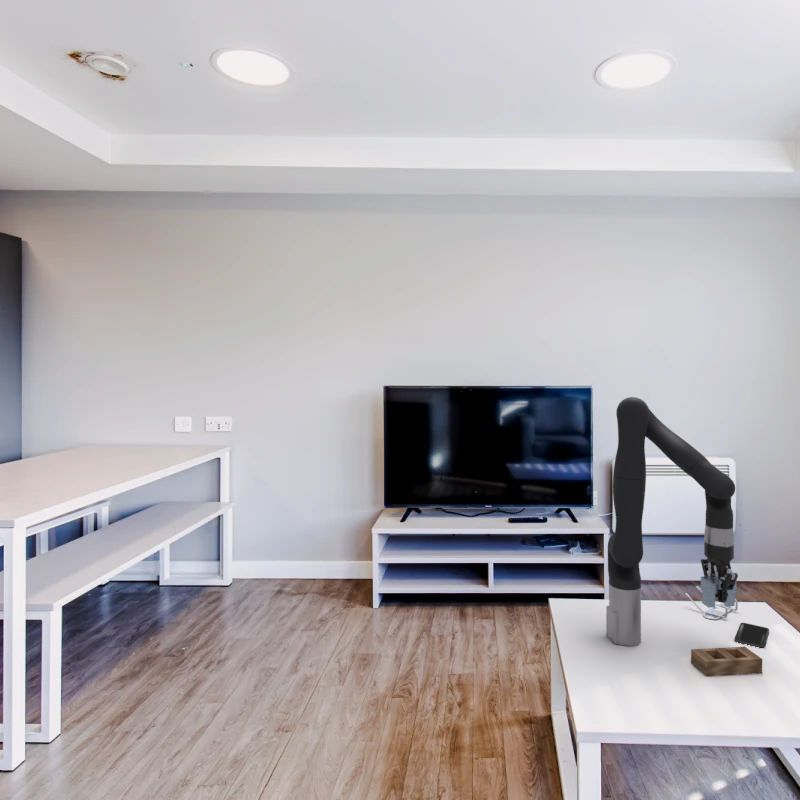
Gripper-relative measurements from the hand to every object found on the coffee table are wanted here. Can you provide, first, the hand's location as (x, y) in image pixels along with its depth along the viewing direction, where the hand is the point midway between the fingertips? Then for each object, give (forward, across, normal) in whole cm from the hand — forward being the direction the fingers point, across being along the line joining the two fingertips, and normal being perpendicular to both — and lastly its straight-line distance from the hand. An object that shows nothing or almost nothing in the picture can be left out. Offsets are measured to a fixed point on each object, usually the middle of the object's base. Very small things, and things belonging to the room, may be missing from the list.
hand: (718, 599), depth 165 cm
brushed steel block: (+2, 0, 0) cm, 2 cm away
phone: (+17, -8, +17) cm, 25 cm away
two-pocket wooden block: (+16, +8, -3) cm, 18 cm away
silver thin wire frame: (+17, -28, +16) cm, 36 cm away
